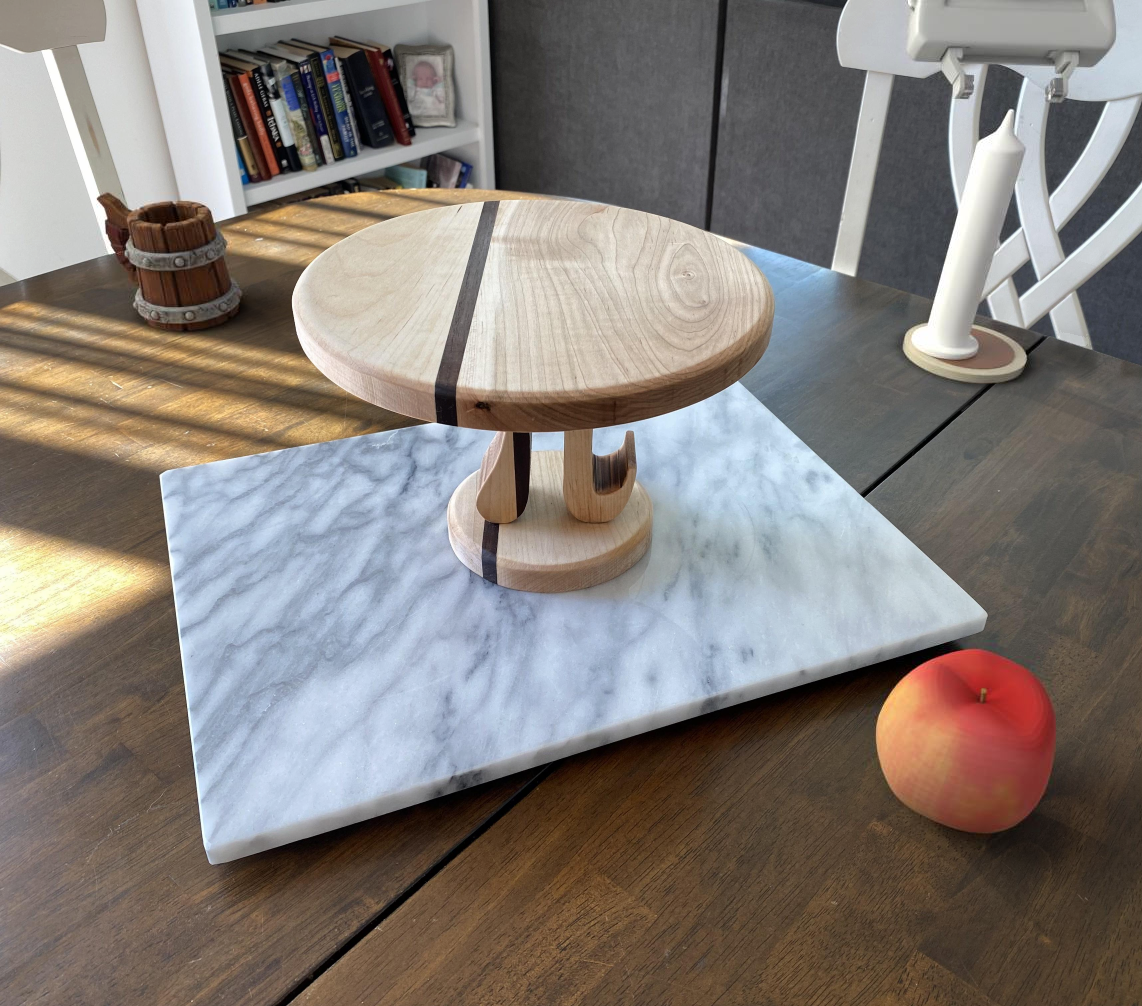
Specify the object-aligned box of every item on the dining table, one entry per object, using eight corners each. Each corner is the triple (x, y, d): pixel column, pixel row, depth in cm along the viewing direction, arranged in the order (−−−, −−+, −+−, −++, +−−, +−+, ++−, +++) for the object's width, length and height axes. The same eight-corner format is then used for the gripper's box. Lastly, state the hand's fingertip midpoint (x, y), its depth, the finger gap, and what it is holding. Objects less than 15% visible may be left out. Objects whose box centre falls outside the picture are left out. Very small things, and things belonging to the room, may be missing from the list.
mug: (208, 341, 103) (156, 205, 95) (110, 340, 108) (53, 211, 100) (269, 300, 112) (227, 173, 104) (177, 300, 117) (129, 179, 109)
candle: (990, 350, 103) (1067, 113, 88) (949, 366, 100) (1021, 122, 85) (938, 326, 108) (1003, 96, 93) (897, 340, 105) (957, 105, 90)
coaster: (970, 324, 112) (973, 314, 111) (1049, 374, 102) (1053, 363, 101) (879, 339, 108) (881, 328, 107) (951, 392, 98) (955, 382, 97)
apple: (914, 713, 63) (953, 603, 57) (1052, 803, 57) (1111, 692, 51) (831, 793, 58) (865, 682, 52) (974, 901, 52) (1030, 790, 46)
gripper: (917, -51, 94) (918, 75, 92) (1122, -45, 94) (1127, 82, 92) (897, -8, 101) (897, 111, 99) (1089, -2, 100) (1093, 118, 98)
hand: (1010, 97), depth 95 cm, fingers open, 8 cm apart
